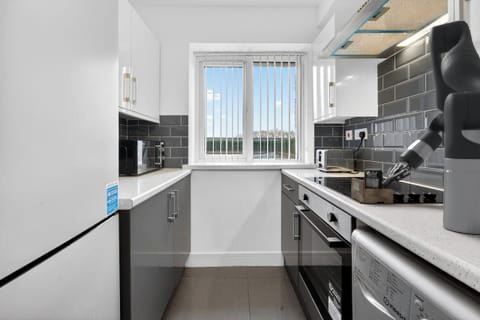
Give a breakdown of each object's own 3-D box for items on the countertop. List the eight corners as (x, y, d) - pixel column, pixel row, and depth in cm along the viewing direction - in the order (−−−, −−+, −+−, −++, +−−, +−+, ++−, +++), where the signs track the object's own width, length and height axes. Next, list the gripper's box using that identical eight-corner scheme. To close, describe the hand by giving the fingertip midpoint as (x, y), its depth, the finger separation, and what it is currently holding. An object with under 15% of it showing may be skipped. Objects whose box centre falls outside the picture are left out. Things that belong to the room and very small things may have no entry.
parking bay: (378, 197, 122) (378, 178, 122) (392, 203, 110) (393, 181, 110) (350, 197, 123) (351, 177, 122) (361, 203, 111) (362, 181, 110)
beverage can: (375, 198, 120) (375, 168, 120) (386, 201, 114) (387, 169, 113) (360, 199, 119) (360, 168, 118) (371, 202, 112) (371, 169, 112)
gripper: (400, 147, 122) (368, 178, 123) (418, 148, 109) (383, 182, 110) (413, 160, 122) (382, 191, 123) (433, 162, 109) (397, 197, 110)
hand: (382, 187), depth 117 cm, fingers closed
